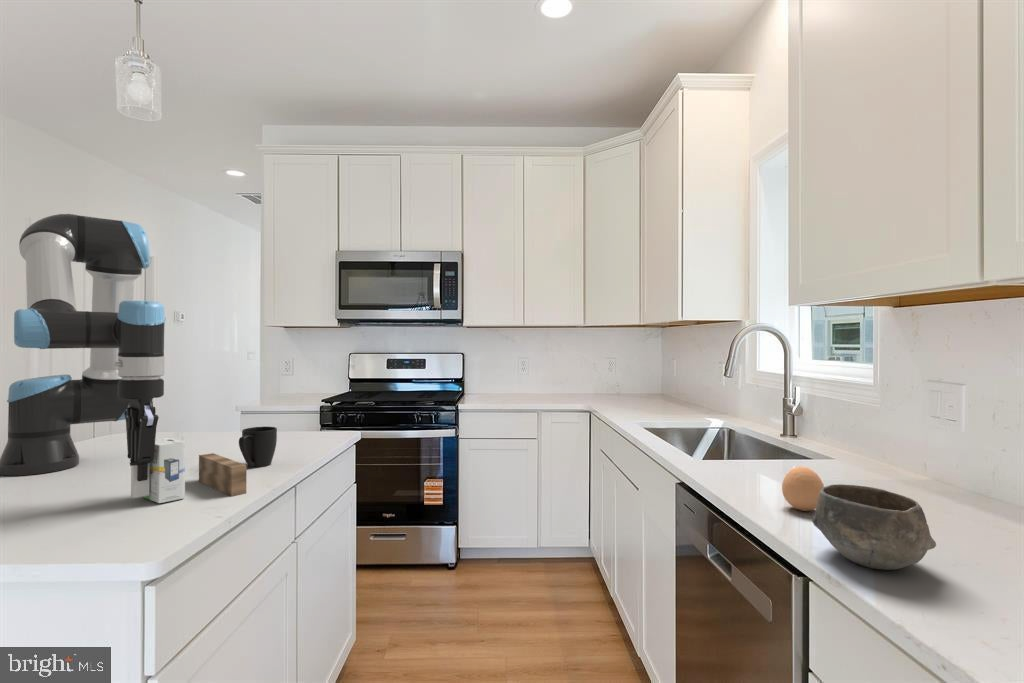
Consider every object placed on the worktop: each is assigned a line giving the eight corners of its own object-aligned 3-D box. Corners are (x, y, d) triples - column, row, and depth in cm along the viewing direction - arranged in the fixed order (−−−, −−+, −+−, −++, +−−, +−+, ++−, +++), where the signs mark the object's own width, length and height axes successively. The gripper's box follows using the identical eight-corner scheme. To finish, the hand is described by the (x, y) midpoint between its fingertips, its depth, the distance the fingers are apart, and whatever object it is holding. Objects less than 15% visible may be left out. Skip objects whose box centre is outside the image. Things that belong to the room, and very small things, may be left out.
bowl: (856, 584, 69) (856, 510, 69) (793, 540, 85) (793, 480, 85) (958, 584, 69) (958, 511, 69) (876, 540, 85) (877, 480, 85)
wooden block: (198, 481, 118) (198, 455, 118) (212, 478, 120) (213, 453, 120) (231, 496, 107) (231, 467, 107) (246, 493, 109) (246, 465, 109)
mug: (224, 472, 126) (224, 433, 126) (254, 461, 138) (255, 426, 138) (255, 473, 125) (255, 434, 125) (283, 462, 137) (283, 426, 137)
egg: (778, 511, 99) (778, 467, 99) (785, 501, 105) (785, 460, 105) (822, 519, 95) (822, 473, 95) (826, 509, 101) (827, 466, 101)
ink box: (185, 499, 105) (188, 441, 105) (156, 504, 100) (159, 444, 101) (166, 492, 110) (169, 436, 110) (138, 497, 105) (141, 439, 106)
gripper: (109, 377, 103) (108, 493, 103) (127, 380, 95) (126, 507, 95) (153, 375, 109) (152, 486, 109) (173, 378, 101) (172, 498, 100)
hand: (140, 495), depth 102 cm, fingers closed
